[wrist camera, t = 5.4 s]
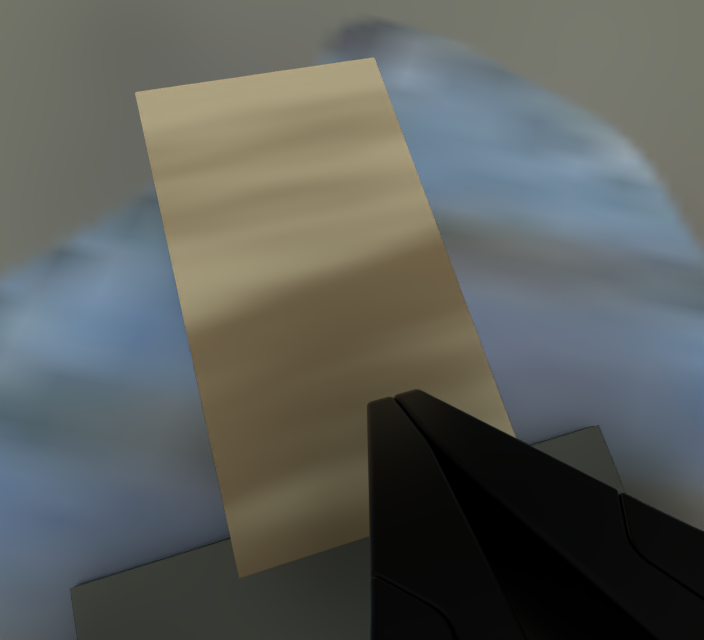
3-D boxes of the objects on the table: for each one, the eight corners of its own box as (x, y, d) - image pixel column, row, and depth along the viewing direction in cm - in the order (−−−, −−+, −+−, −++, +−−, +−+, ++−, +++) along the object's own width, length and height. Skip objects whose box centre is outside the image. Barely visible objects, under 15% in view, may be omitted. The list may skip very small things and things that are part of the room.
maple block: (532, 483, 11) (374, 57, 14) (239, 578, 10) (135, 92, 13) (476, 489, 15) (357, 141, 18) (249, 562, 13) (164, 175, 17)
